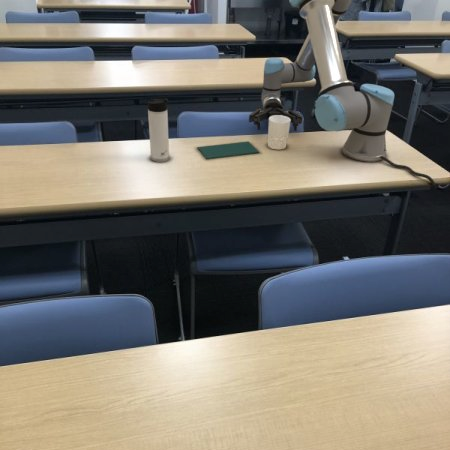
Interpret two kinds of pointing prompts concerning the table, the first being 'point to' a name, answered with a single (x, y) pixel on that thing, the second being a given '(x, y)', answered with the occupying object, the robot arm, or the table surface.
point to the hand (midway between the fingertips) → (277, 126)
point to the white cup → (278, 131)
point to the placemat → (227, 150)
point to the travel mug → (158, 129)
